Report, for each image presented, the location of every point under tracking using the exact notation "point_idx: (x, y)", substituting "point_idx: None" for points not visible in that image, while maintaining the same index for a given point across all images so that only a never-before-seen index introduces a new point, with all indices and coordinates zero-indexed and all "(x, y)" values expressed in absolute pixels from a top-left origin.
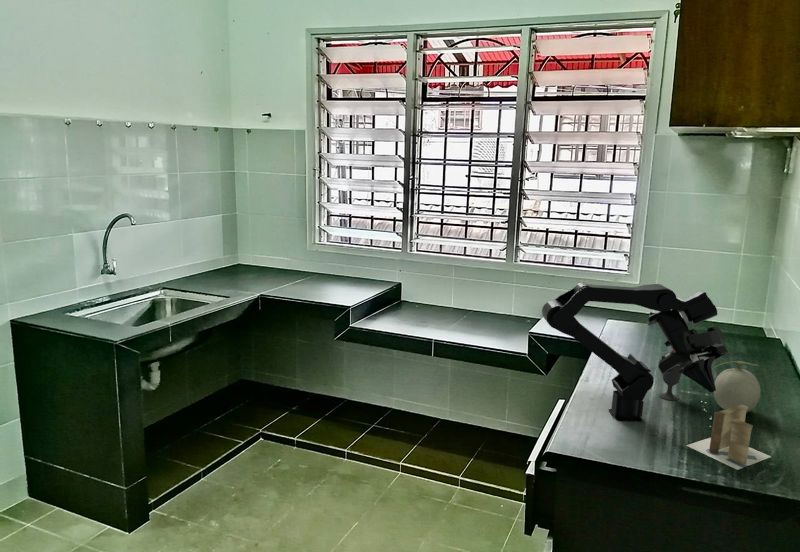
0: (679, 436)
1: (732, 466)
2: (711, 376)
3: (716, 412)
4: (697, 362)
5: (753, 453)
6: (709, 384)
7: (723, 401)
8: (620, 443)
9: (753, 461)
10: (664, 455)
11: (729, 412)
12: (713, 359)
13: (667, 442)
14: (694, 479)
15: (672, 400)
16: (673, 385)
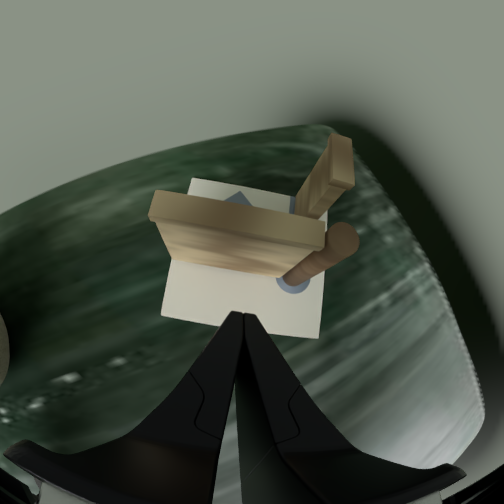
0: None
1: (323, 216)
2: (215, 370)
3: (345, 249)
4: (452, 465)
5: None
6: (271, 346)
7: (4, 362)
8: (413, 416)
9: (256, 194)
10: (394, 337)
11: (295, 215)
12: (59, 457)
13: (333, 378)
14: (418, 248)
15: None
16: (36, 496)
